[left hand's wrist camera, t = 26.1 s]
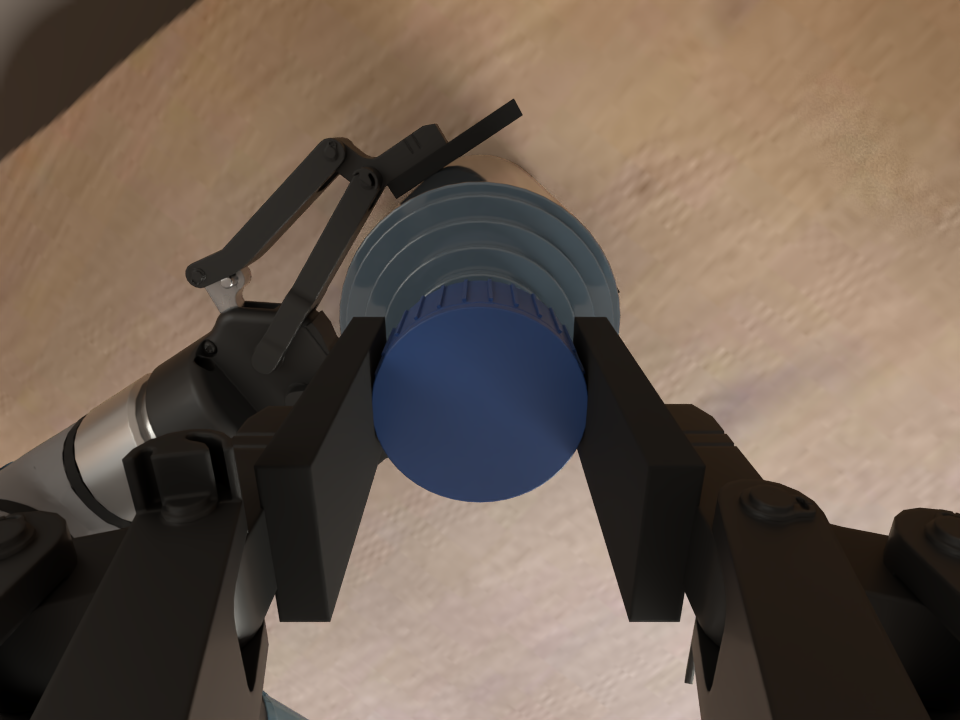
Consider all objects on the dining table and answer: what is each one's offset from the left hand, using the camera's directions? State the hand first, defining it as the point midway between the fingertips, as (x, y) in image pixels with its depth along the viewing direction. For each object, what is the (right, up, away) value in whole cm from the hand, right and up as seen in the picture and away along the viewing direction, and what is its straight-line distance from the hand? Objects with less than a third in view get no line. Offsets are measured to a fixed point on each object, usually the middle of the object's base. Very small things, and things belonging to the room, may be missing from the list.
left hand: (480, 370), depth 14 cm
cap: (0, -1, -2) cm, 2 cm away
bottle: (0, +8, +19) cm, 21 cm away
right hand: (+4, +8, +13) cm, 16 cm away
